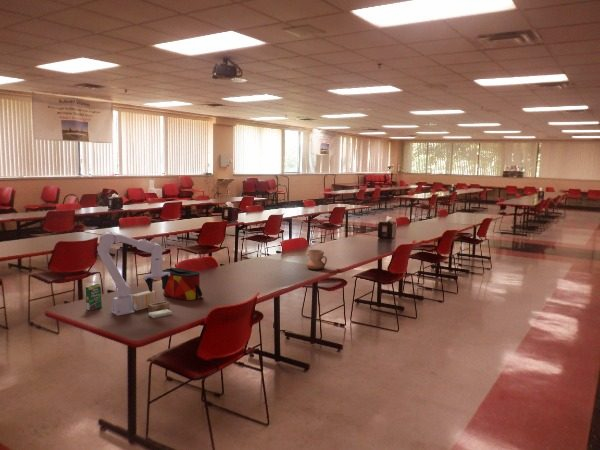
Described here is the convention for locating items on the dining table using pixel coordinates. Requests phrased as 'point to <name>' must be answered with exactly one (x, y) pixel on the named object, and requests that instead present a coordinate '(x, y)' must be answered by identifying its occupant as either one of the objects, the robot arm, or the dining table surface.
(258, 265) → the dining table surface
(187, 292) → the bag
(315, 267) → the ceramic jug
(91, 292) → the coffee box
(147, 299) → the supplement box
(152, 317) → the mat
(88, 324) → the dining table surface
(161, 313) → the lid
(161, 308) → the pen box
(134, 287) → the dining table surface
